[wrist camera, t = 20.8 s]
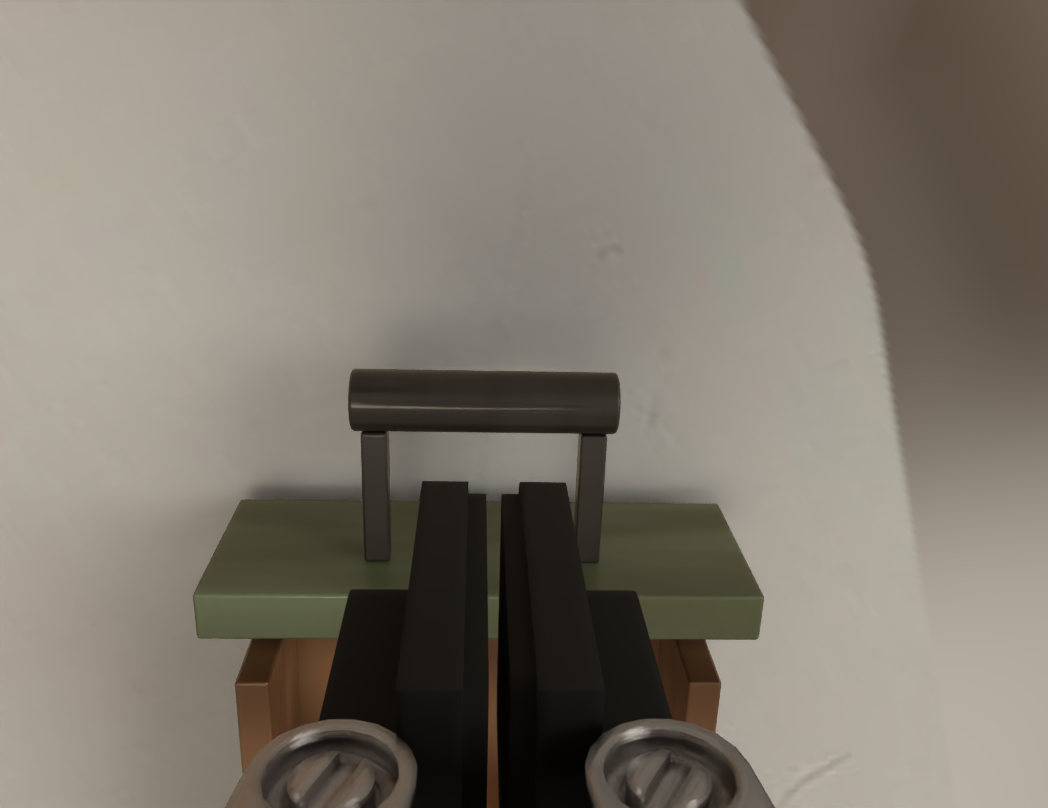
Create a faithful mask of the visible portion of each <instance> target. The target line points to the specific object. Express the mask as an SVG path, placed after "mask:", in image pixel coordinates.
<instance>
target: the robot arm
mask: <svg viewBox="0 0 1048 808" xmlns="http://www.w3.org/2000/svg"><path fill="white" fill-rule="evenodd" d="M488 713H489V659H488V582H487V505H486V494H468V482H449V481H422V488H421V495H420V503H419V511H418V519H417V526H416V534H415V542H414V550H413V557H412V565H411V573H410V581H409V588H408V589H351V590H350V592H349V595H348V598H347V602H346V607H345V611H344V615H343V619H342V624H341V628H340V632H339V637H338V641H337V645H336V649H335V654H334V658H333V662H332V666H331V671H330V675H329V679H328V683H327V688H326V692H325V696H324V700H323V705H322V709H321V713H320V718H319V722H314V723H309V724H304V725H302V726H299V727H297V728H295V729H292V730H290V731H288V732H285V733H283V734H281V735H279V736H278V737H276V738H275V739H274V740H272V741H271V742H269V743H268V744H267V745H265V746H264V747H263V748H261V749H260V750H259V752H258V753H257V754H256V756H255V757H254V758H253V759H252V761H251V762H250V763H249V765H248V766H247V768H246V769H245V771H244V773H243V775H242V777H241V779H240V781H239V782H238V784H237V786H236V788H235V790H234V792H233V794H232V796H231V797H230V799H229V801H228V803H227V805H226V807H225V808H487V764H488ZM497 757H498V799H499V808H775V807H774V805H773V804H772V802H771V800H770V798H769V797H768V795H767V793H766V792H765V790H764V788H763V786H762V785H761V783H760V781H759V780H758V778H757V776H756V774H755V773H754V771H753V769H752V767H751V766H750V764H749V763H748V762H747V760H746V759H745V758H744V757H743V756H742V754H741V753H740V752H739V751H738V749H737V748H736V747H735V746H733V745H732V744H730V743H729V742H728V741H726V740H725V739H723V738H722V737H721V736H719V735H718V734H716V733H714V732H712V731H709V730H707V729H704V728H702V727H700V726H697V725H695V724H692V723H687V722H682V721H677V720H672V716H671V712H670V709H669V705H668V702H667V698H666V695H665V691H664V687H663V684H662V680H661V677H660V673H659V670H658V666H657V662H656V659H655V655H654V652H653V648H652V644H651V641H650V637H649V634H648V630H647V627H646V623H645V619H644V616H643V612H642V609H641V605H640V602H639V598H638V596H637V593H636V591H633V590H586V586H585V581H584V576H583V570H582V565H581V560H580V555H579V549H578V544H577V539H576V533H575V528H574V523H573V518H572V512H571V507H570V502H569V497H568V491H567V486H566V483H551V482H520V484H519V494H502V496H501V529H500V570H499V611H498V653H497Z"/></svg>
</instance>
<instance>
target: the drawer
mask: <svg viewBox="0 0 1048 808" xmlns="http://www.w3.org/2000/svg"><path fill="white" fill-rule="evenodd" d="M620 403H621V399H620V383H619V378H618V376H617V374H616V373H597V372H532V371H466V370H400V369H354V370H352V372H351V375H350V381H349V394H348V411H349V422H350V426H351V429H352V430H354V431H362V433H361V463H362V496H363V501H349V500H241V501H240V503H239V505H238V507H237V509H236V511H235V513H234V515H233V517H232V519H231V521H230V522H229V524H228V526H227V528H226V530H225V532H224V534H223V536H222V538H221V540H220V542H219V544H218V546H217V548H216V550H215V552H214V554H213V556H212V558H211V560H210V562H209V564H208V566H207V568H206V570H205V572H204V574H203V576H202V578H201V580H200V582H199V584H198V586H197V588H196V590H195V592H194V594H193V603H194V612H195V622H196V632H197V637H198V638H222V639H251V642H250V644H249V647H248V650H247V652H246V655H245V658H244V660H243V663H242V666H241V668H240V671H239V674H238V676H237V679H236V682H235V692H236V703H237V715H238V726H239V738H240V749H241V760H242V772H243V773H244V771H245V769H246V768H247V766H248V765H249V763H250V762H251V761H252V759H253V758H254V757H255V756H256V754H257V753H258V752H259V750H260V749H261V748H263V747H264V746H265V745H267V744H268V743H269V742H271V741H272V740H274V739H275V738H276V737H278V736H279V735H281V734H283V733H285V732H288V731H290V730H292V729H295V728H297V727H299V726H302V725H304V724H309V723H314V722H319V718H320V713H321V709H322V705H323V700H324V696H325V692H326V688H327V683H328V679H329V675H330V671H331V666H332V662H333V658H334V654H335V649H336V645H337V641H338V637H339V632H340V628H341V624H342V619H343V615H344V611H345V607H346V602H347V598H348V595H349V592H350V590H351V589H408V588H409V581H410V573H411V565H412V557H413V550H414V542H415V534H416V526H417V519H418V511H419V503H420V501H390V452H389V431H406V432H488V433H570V434H579V439H578V458H577V476H576V495H575V502H570V507H571V512H572V518H573V523H574V528H575V533H576V539H577V544H578V549H579V555H580V560H581V565H582V570H583V576H584V581H585V586H586V590H633V591H636V593H637V596H638V598H639V602H640V605H641V609H642V612H643V616H644V619H645V623H646V627H647V630H648V634H649V637H650V641H651V644H652V648H653V652H654V655H655V659H656V662H657V666H658V670H659V673H660V677H661V680H662V684H663V687H664V691H665V695H666V698H667V702H668V705H669V709H670V712H671V716H672V720H677V721H682V722H687V723H692V724H695V725H697V726H700V727H702V728H704V729H707V730H709V731H712V732H714V733H715V731H716V723H717V714H718V706H719V698H720V689H721V681H720V679H719V676H718V673H717V671H716V668H715V665H714V662H713V660H712V657H711V654H710V651H709V649H708V646H707V643H706V641H705V639H722V640H756V639H758V637H759V632H760V624H761V617H762V609H763V602H764V596H763V594H762V592H761V590H760V588H759V586H758V584H757V582H756V580H755V578H754V576H753V574H752V572H751V570H750V568H749V566H748V564H747V562H746V560H745V558H744V556H743V554H742V552H741V550H740V548H739V546H738V544H737V542H736V540H735V538H734V536H733V534H732V532H731V530H730V528H729V526H728V524H727V522H726V520H725V518H724V516H723V514H722V512H721V510H720V508H719V506H718V505H717V504H691V503H603V493H604V477H605V462H606V446H607V436H606V434H614V433H616V432H617V429H618V426H619V420H620ZM486 505H487V582H488V659H489V713H488V764H487V808H499V799H498V757H497V653H498V611H499V570H500V529H501V502H486Z"/></svg>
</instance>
